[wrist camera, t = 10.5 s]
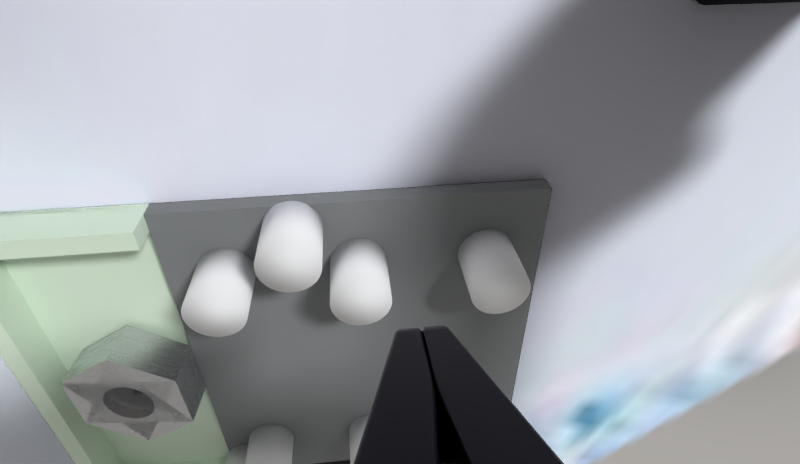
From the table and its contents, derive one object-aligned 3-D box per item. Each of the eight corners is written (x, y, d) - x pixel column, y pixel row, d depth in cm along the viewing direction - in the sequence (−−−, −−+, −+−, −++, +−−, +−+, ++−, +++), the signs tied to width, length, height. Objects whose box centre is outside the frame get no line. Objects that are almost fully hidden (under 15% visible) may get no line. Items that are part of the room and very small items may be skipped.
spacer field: (545, 175, 21) (577, 220, 18) (499, 432, 31) (515, 485, 29) (-44, 210, 19) (-108, 267, 16) (116, 471, 29) (94, 532, 27)
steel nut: (182, 323, 22) (165, 359, 21) (213, 403, 26) (200, 439, 24) (71, 325, 22) (45, 361, 21) (116, 405, 26) (97, 441, 24)
